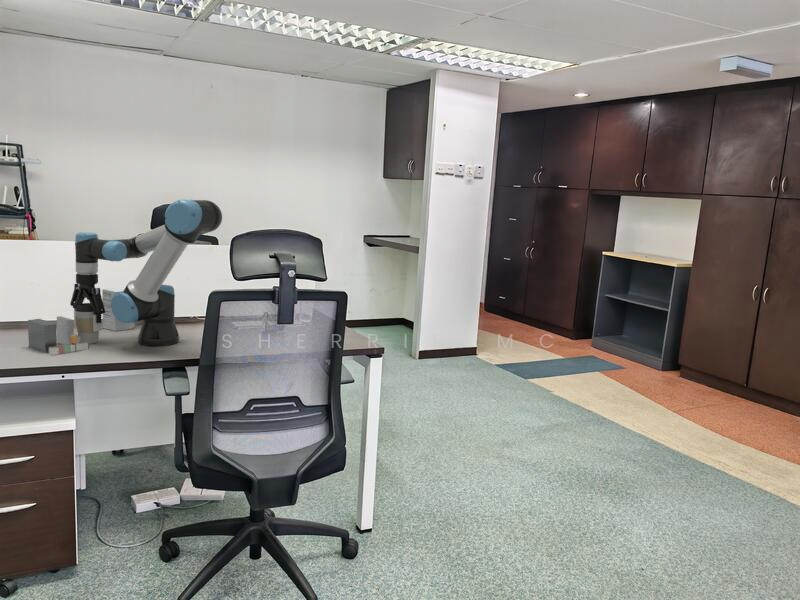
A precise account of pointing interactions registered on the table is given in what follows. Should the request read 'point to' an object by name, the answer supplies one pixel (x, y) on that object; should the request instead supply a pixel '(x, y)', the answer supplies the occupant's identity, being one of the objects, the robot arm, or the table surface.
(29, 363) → the table surface
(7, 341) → the table surface
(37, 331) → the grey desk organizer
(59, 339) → the light grey slab
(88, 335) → the coffee cup
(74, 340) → the orange stepped block
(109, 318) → the supplement box
